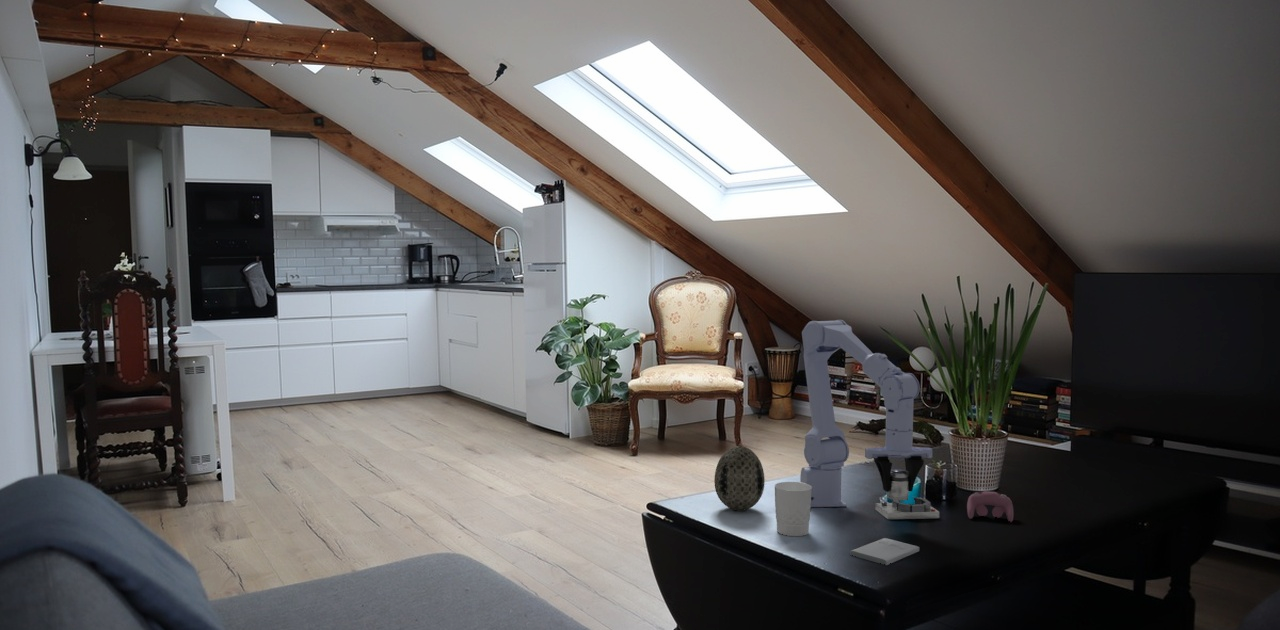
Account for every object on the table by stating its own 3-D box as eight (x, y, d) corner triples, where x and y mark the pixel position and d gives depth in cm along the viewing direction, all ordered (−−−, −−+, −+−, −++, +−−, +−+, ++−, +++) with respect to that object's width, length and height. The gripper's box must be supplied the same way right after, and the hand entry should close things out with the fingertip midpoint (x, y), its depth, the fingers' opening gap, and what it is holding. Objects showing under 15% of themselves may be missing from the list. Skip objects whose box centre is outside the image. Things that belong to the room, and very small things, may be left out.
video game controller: (1012, 525, 202) (1012, 495, 205) (1014, 521, 199) (1014, 490, 201) (966, 521, 206) (966, 491, 208) (967, 517, 202) (967, 487, 204)
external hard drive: (849, 558, 177) (883, 544, 186) (886, 568, 171) (919, 553, 180) (849, 549, 177) (883, 536, 185) (886, 560, 171) (919, 546, 180)
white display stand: (887, 519, 202) (888, 506, 201) (875, 509, 209) (875, 497, 209) (939, 518, 203) (939, 505, 202) (924, 508, 211) (925, 496, 210)
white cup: (802, 539, 186) (803, 492, 186) (768, 533, 191) (768, 487, 190) (816, 530, 193) (817, 484, 193) (782, 524, 197) (783, 480, 197)
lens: (891, 500, 193) (892, 473, 193) (883, 495, 198) (884, 468, 197) (912, 500, 194) (912, 473, 193) (903, 494, 198) (904, 468, 198)
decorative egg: (703, 509, 209) (704, 446, 208) (734, 500, 217) (734, 439, 216) (744, 519, 201) (745, 454, 200) (774, 509, 209) (774, 446, 208)
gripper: (873, 432, 190) (871, 495, 191) (939, 432, 191) (937, 494, 192) (862, 426, 197) (860, 487, 198) (925, 426, 198) (924, 486, 199)
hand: (897, 490), depth 196 cm, fingers closed on lens, 4 cm apart
